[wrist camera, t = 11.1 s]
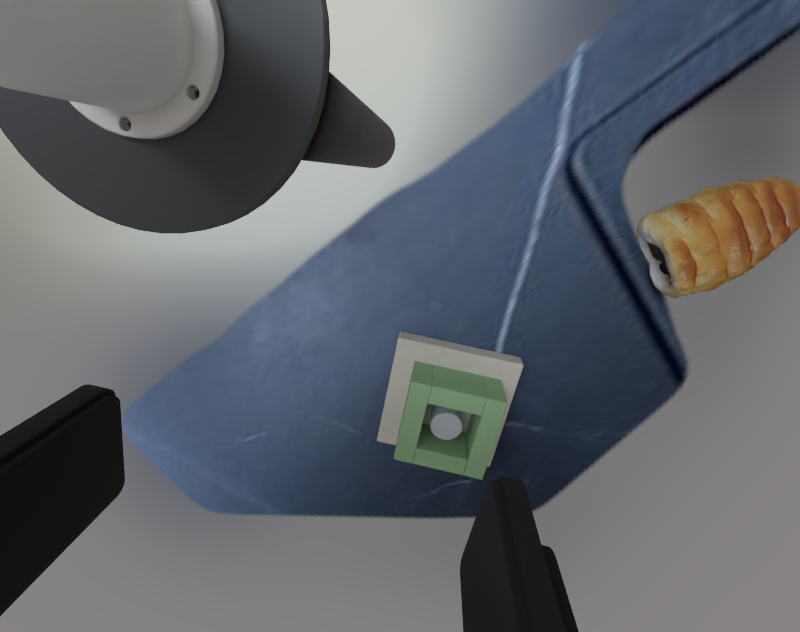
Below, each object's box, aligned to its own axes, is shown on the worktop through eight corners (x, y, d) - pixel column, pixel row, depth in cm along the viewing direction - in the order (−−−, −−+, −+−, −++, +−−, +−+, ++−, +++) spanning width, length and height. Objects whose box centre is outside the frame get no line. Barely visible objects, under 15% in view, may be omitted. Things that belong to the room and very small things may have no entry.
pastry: (770, 149, 26) (822, 145, 22) (795, 241, 28) (847, 251, 24) (624, 220, 28) (650, 227, 25) (655, 301, 30) (684, 318, 26)
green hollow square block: (414, 360, 32) (411, 381, 29) (501, 379, 32) (507, 403, 28) (398, 432, 34) (393, 459, 31) (478, 450, 34) (482, 480, 31)
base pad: (400, 330, 33) (393, 353, 29) (520, 357, 33) (532, 383, 28) (379, 431, 36) (370, 464, 32) (488, 455, 36) (493, 493, 32)
